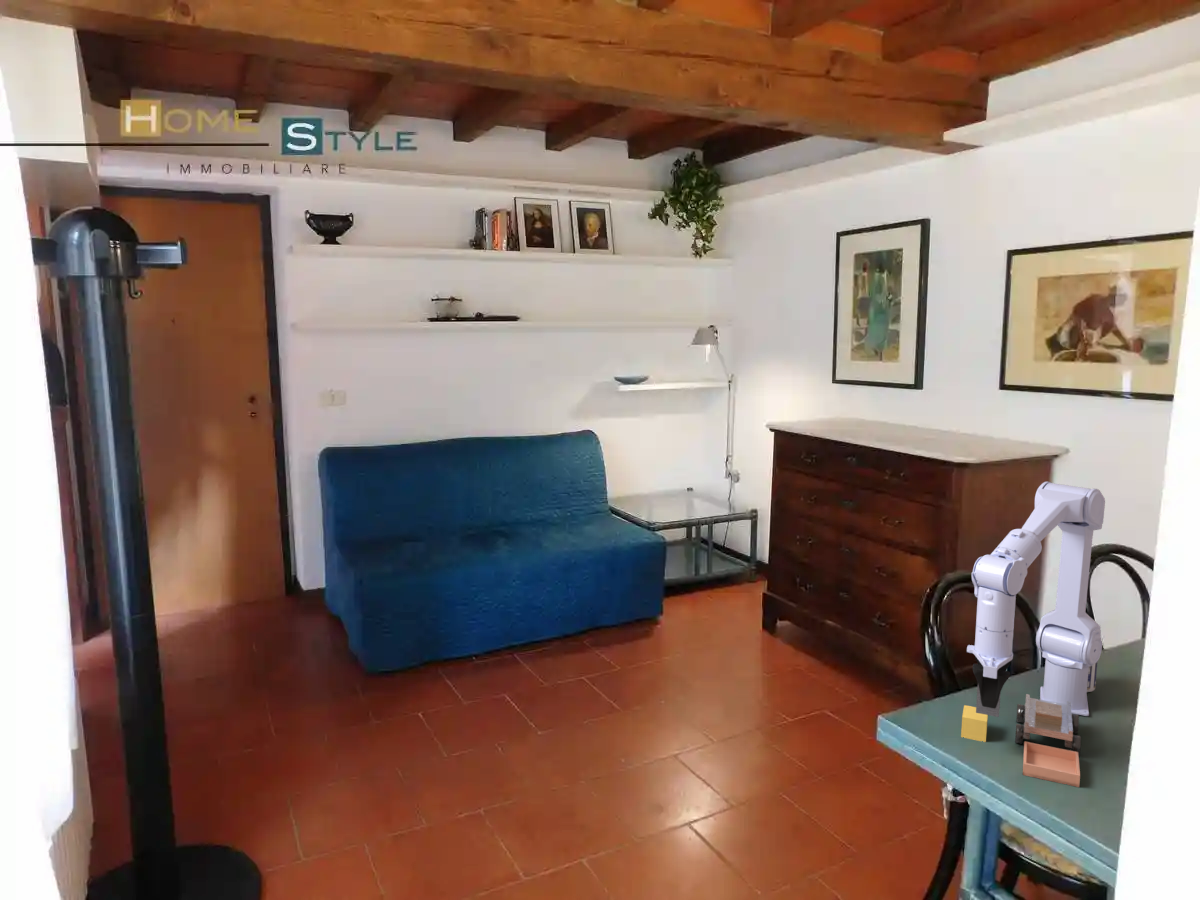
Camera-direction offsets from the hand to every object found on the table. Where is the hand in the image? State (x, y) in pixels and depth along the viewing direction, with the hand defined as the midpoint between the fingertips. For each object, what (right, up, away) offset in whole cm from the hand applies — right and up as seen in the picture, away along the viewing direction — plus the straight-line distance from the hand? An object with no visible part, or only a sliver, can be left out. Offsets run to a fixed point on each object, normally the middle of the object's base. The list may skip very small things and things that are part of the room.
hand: (989, 701), depth 140 cm
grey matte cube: (0, -2, 0) cm, 2 cm away
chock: (+1, -8, +7) cm, 11 cm away
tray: (+8, -10, -5) cm, 13 cm away
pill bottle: (+30, -5, +25) cm, 39 cm away
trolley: (+13, -8, +6) cm, 16 cm away
